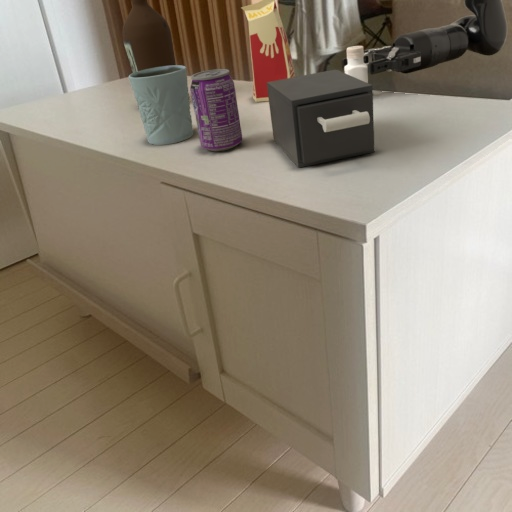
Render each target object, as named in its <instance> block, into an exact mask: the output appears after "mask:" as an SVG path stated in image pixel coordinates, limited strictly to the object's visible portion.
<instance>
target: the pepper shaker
mask: <svg viewBox="0 0 512 512" xmlns="http://www.w3.org/2000/svg"><path fill="white" fill-rule="evenodd" d="M363 50H365V49H364V46H363V45H352V46H348V47H347V48H346V58H347V60H348V64H347V65H346V66H345V67H344V70H343V71H344V73H346V74H348V75H350V76H352V77H355V78H357V79H359V80H361V81H364V82H366V83H368V84H369V73H368V66H367V65H366V64H365V63H364V60H363V57H364V51H363Z"/></svg>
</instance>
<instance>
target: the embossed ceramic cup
mask: <svg viewBox="0 0 512 512" xmlns="http://www.w3.org/2000/svg"><path fill="white" fill-rule="evenodd" d="M128 81H129V83H130V86H131V90H132V92H133V96H134V99H135V101H136V103H137V107H138V112H139V115H140V118H141V121H142V125H143V128H144V132H145V134H146V135H145V136H146V140H147V142H148V143H149V144H150V145H155V146H164V145H165V146H166V145H172V144H176V143H179V142H183V141H186V140H188V139H190V138H191V137H192V136H193V135H194V127H193V121H192V114H191V102H190V98H189V96H190V93H189V87H188V86H189V84H188V71H187V67H186V65H180V64H176V65H172V66H162V67H155V68H150V69H145V70H141V71H138V72H134V73H132V72H131V74H129V75H128Z"/></svg>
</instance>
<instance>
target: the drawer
mask: <svg viewBox="0 0 512 512" xmlns="http://www.w3.org/2000/svg"><path fill="white" fill-rule="evenodd" d="M297 116H298V126H299V136H300V146H301V156H302V162H303V163H310V162H315V161H319V160H324V159H329V158H334V157H339V156H343V155H348V154H353V153H358V152H363V151H367V150H372V149H374V150H375V143H374V144H373V120H374V111H373V112H372V94H370V93H365V94H360V93H359V94H354V95H349V96H344V97H339V98H334V99H329V100H323V101H318V102H313V103H308V104H303V105H298V107H297Z"/></svg>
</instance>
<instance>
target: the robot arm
mask: <svg viewBox="0 0 512 512" xmlns="http://www.w3.org/2000/svg"><path fill="white" fill-rule="evenodd" d="M463 5H464V7H465V8H466V9H467V10H468V11H470V12H472V13H473V14H471V15H470V14H469V15H464V16H463V17H460V18H458V19H456V20H455V21H453V22H452V23H450V24H447V25H442V26H438V27H429V28H424V29H420V30H416V31H412V32H407V33H403V34H399V35H398V36H397V37H396V38H395V40H394V41H393V43H392V45H384V46H382V47H378V46H375V47H372V48H368V49H364V50H363V51H364V57H363V60H364V63H365V64H366V65H367V67H368V75H371V76H372V75H377V74H380V73H384V72H388V73H392V72H396V73H402V74H406V75H407V74H411V73H415V72H418V71H422V70H426V69H430V68H433V67H435V66H437V65H440V64H444V63H447V62H450V61H454V60H457V59H459V58H461V57H462V56H464V54H466V52H467V51H468V52H469V51H470V52H472V53H476V54H479V55H482V56H494V55H496V54H497V53H499V52H500V51H501V50H502V49H503V47H504V45H505V43H506V41H507V37H508V21H507V16H506V12H505V7H504V3H503V0H463ZM347 64H348V60H347V57H344V58H342V59H341V69H342V70H343V71H345V70H344V67H345V66H346V65H347Z"/></svg>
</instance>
